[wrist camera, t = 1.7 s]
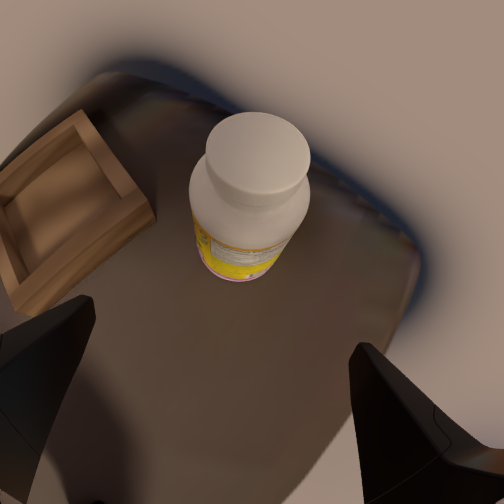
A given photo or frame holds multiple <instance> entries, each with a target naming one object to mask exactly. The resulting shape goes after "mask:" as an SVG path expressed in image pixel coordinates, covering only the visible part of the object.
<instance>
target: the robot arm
mask: <svg viewBox="0 0 504 504" xmlns="http://www.w3.org/2000/svg"><path fill="white" fill-rule="evenodd" d="M95 320H96V315H95V308H94V302H93V299H92V297H90V296H86V295H79V296H77V297H75V298H73V299H71V300H69V301H67V302H65V303H63V304H61V305H58V306H56V307H54V308H52V309H50V310H48V311H46V312H44V313H42V314H40V315H38V316H36V317H34V318H32V319H30V320H28V321H26V322H24V323H22V324H20V325H18V326H16V327H14V328H13V329H11V330H9V331H7V332H5V333H4V334H1V335H0V494H1V491H4V492H5V493H7V494H8V495H10V496H12V497H13V498H15V499H16V500H18V501H20V502H21V503H23V504H26V503H27V500H28V496H29V493H30V489H31V486H32V483H33V479H34V476H35V473H36V470H37V467H38V464H39V461H40V458H41V457H40V456H41V454H42V451H43V449H44V446H45V443H46V440H47V438H48V435H49V432H50V430H51V427H52V425H53V422H54V420H55V417H56V415H57V412H58V410H59V408H60V405H61V403H62V400H63V398H64V396H65V394H66V391H67V389H68V387H69V385H70V382H71V380H72V378H73V376H74V374H75V372H76V369H77V367H78V365H79V363H80V361H81V359H82V356H83V354H84V351H85V348H86V345H87V342H88V340H89V337H90V334H91V332H92V329H93V326H94V324H95ZM349 379H350V396H351V406H352V412H353V418H354V425H355V432H356V438H357V445H358V453H359V460H360V469H361V477H362V487H363V497H364V504H504V449H495V448H489V447H487V446H485V445H483V444H481V443H480V442H479V441H478V440H476V439H475V438H473V436H471V435H470V434H469V433H467V432H466V431H465V430H464V429H463V428H461V427H460V426H459V425H458V424H457V423H455V422H454V421H453V420H452V419H450V418H449V417H448V416H447V415H446V414H445V413H444V412H443V411H442V410H441V409H440V408H439V407H438V406H436V405H435V404H434V403H433V402H432V401H431V400H430V399H429V398H428V397H427V396H426V395H425V394H424V393H423V392H422V391H421V390H420V389H419V388H418V387H417V386H415V385H414V384H413V383H412V382H411V381H410V380H409V379H408V378H407V377H406V376H405V375H404V374H403V373H402V372H401V371H400V370H399V369H398V368H396V367H395V366H394V365H393V364H392V363H391V362H390V361H389V360H388V359H387V358H386V357H385V356H384V355H383V354H382V353H380V352H379V351H378V350H377V349H376V348H375V347H374V346H373V345H372V344H371V343H364V342H360V343H358V345H357V346H356V348H355V350H354V352H353V354H352V355H351V357H350V359H349ZM0 504H1V502H0ZM91 504H104V503H103V502H101V501H95V502H93V503H91Z"/></svg>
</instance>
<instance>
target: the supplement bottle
mask: <svg viewBox="0 0 504 504" xmlns="http://www.w3.org/2000/svg"><path fill="white" fill-rule="evenodd" d="M309 165H310V150H309V146H308V144H307V141H306V140H305V138H304V136H303V135H302V134H301V133H300V131H299V130H298V129H297V128H295V127H294V126H293V125H292V124H291V123H289V122H288V121H286V120H284V119H282V118H280V117H278V116H275V115H272V114H268V113H261V112H245V113H240V114H235V115H233V116H230V117H228V118H226V119H224V120H223V121H221V122H220V123H219V124H217V125H216V126H215V127H214V129H213V130H212V131H211V133H210V135H209V137H208V139H207V143H206V153H205V154H204V155H203V156H202V157H201V159H200V160H199V161H198V163H197V164H196V166H195V168H194V170H193V172H192V175H191V179H190V184H189V198H190V205H191V211H192V217H193V223H194V230H195V235H196V241H197V246H198V250H199V254H200V256H201V258H202V260H203V262H204V264H205V265H206V266H207V267H208V268H209V269H210V270H211V271H212V272H213V273H214V274H216V275H217V276H219V277H221V278H223V279H226V280H230V281H239V282H241V281H249V280H252V279H255V278H257V277H259V276H261V275H262V274H264V273H265V272H266V271H267V270H268V269H269V268H270V267H271V266H272V265H273V264H274V262H275V261H276V259H277V258H278V256H279V255H280V253H281V252H282V250H283V249H284V247H285V246H286V244H287V243H288V241H289V240H290V239H291V237H292V236H293V234H294V233H295V231H296V230H297V229H298V227H299V226H300V224H301V222H302V221H303V219H304V217H305V215H306V213H307V210H308V206H309V202H310V187H309V182H308V178H307V175H306V173H307V171H308V169H309Z"/></svg>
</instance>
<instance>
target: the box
mask: <svg viewBox="0 0 504 504" xmlns="http://www.w3.org/2000/svg"><path fill="white" fill-rule="evenodd" d="M156 221H157V220H156V218H155V215H154V213H153V211H152V208H151V206H150V203H149V201H148V199H147V198H146V197H145V195H144V194H143V193H142V191H141V190H140V189H139V187H138V186H137V185H136V183H135V182H134V181H133V180H132V178H131V177H130V176H129V174H128V173H127V172H126V170H125V169H124V167H123V166H122V165H121V163H120V162H119V161H118V159H117V158H116V157H115V155H114V154H113V153H112V151H111V150H110V148H109V147H108V146H107V144H106V143H105V141H104V140H103V139H102V137H101V136H100V134H99V133H98V132H97V130H96V129H95V127H94V126H93V125H92V123H91V122H90V120H89V119H88V117H87V116H86V115H85V113H84V112H83V110H82V109H81V110H79V111H77V112H76V113H74V114H73V115H72V116H70V117H69V118H67V119H66V120H64V121H63V122H61V123H60V124H59V125H57V126H56V127H54V128H53V129H52V130H50V131H49V132H48V133H46V134H45V135H44V136H42V137H41V138H40V139H39V140H37V141H36V142H35V143H34V144H32V145H31V146H30V147H29V148H27V149H26V150H25V151H24V152H23V153H21V154H20V155H19V156H18V157H17V158H16V159H14V160H13V161H12V162H11V163H10V164H9V165H8V166H7V167H6V168H4V169H3V170H2V171H1V172H0V275H1V278H2V281H3V283H4V286H5V289H6V291H7V294H8V296H9V299H10V301H11V303H12V306H13V308H14V310H15V312H17V313H21V314H25V315H28V316H32V317H36V316H38V315H40V314H42V313H44V312H46V311H48V310H49V309H50V308H51V307H52V306H53V305H54V304H55V303H56V302H57V301H59V300H60V299H61V298H62V297H63V296H64V295H65V294H66V293H68V292H69V291H70V290H71V289H72V288H73V287H74V286H76V285H77V284H78V283H79V282H80V281H81V280H83V279H84V278H85V277H86V276H87V275H89V274H90V273H91V272H92V271H93V270H95V269H96V268H97V267H98V266H99V265H101V264H102V263H103V262H104V261H105V260H107V259H108V258H109V257H110V256H112V255H113V254H114V253H115V252H117V251H118V250H119V249H120V248H122V247H123V246H124V245H126V244H127V243H128V242H129V241H131V240H132V239H133V238H135V237H136V236H137V235H139V234H140V233H141V232H142V231H144V230H145V229H146V228H148V227H149V226H150V225H152V224H153V223H154V222H156Z"/></svg>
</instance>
